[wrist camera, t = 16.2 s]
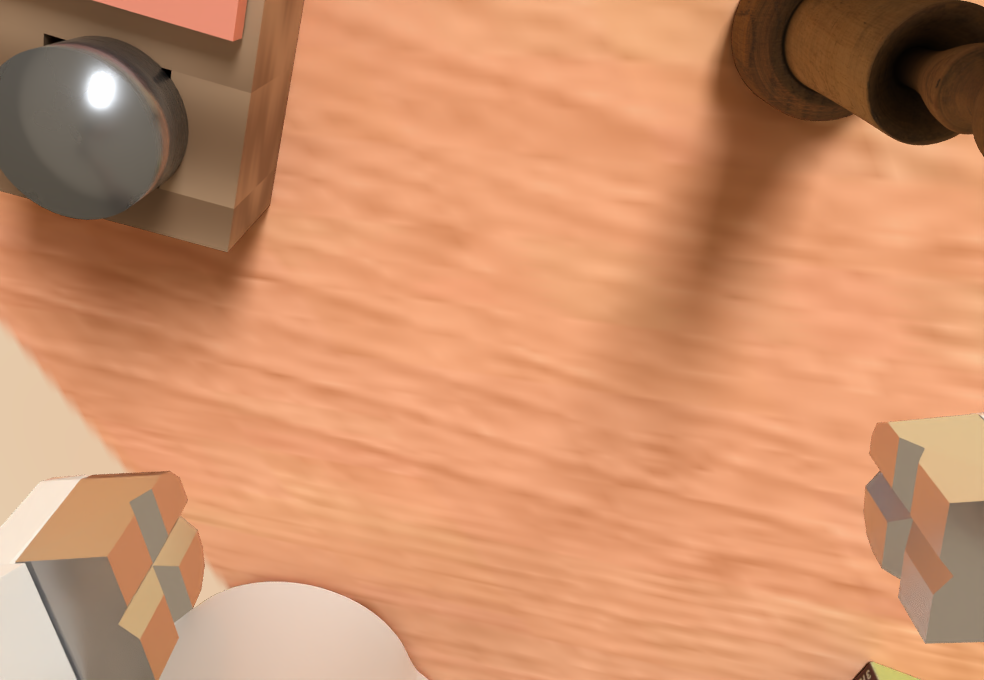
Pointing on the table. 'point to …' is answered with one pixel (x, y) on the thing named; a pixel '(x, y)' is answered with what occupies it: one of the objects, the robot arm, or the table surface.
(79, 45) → the grey domed cylinder
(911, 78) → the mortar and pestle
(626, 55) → the table surface
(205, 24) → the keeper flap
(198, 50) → the block
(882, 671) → the protein box
